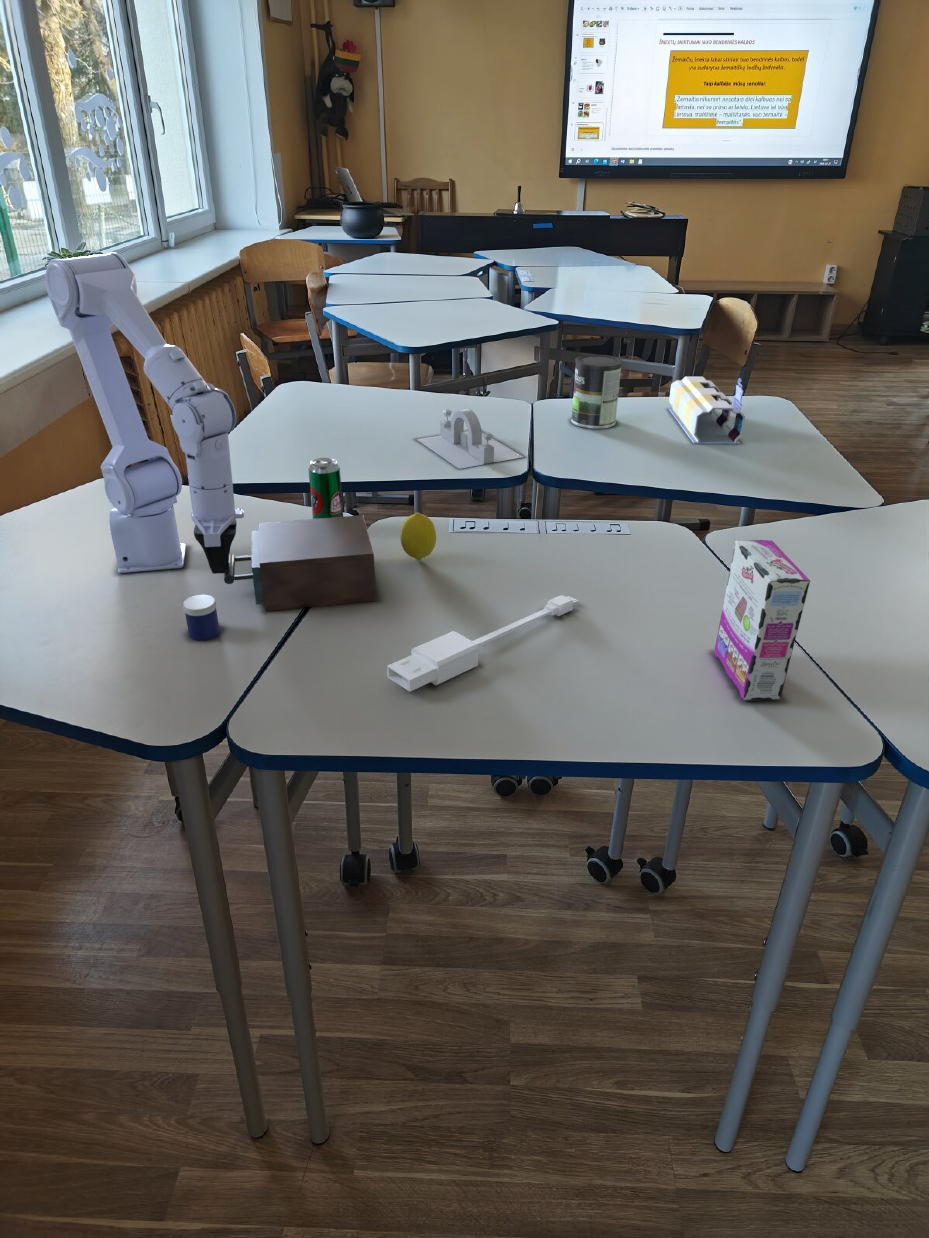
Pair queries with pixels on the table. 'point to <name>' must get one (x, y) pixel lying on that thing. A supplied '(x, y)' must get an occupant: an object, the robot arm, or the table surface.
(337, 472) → the soda can
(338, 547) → the cabinet
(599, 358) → the coffee can
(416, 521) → the lemon
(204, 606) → the blue jar
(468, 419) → the gateway
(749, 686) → the candy bar box
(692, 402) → the diorama
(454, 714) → the table surface
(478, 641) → the charging cable
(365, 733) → the table surface
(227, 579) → the drawer
